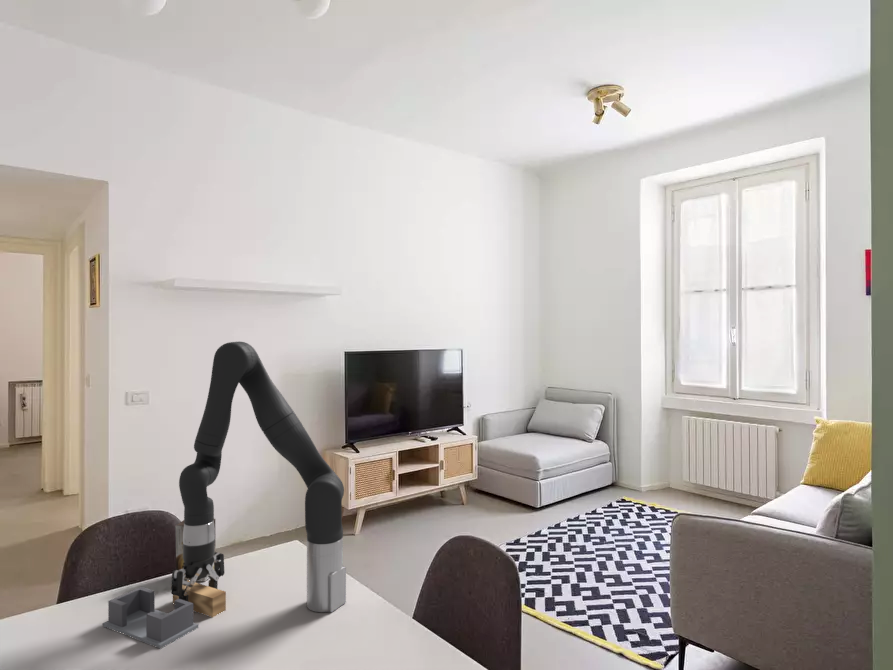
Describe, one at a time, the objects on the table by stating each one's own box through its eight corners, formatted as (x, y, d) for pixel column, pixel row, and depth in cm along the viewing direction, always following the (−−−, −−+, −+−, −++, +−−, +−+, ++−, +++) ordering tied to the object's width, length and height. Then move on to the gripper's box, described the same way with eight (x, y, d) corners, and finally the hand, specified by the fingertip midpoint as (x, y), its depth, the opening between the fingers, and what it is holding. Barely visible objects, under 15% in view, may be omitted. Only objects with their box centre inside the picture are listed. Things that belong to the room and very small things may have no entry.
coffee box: (216, 572, 163) (216, 518, 163) (204, 582, 156) (205, 525, 156) (187, 571, 164) (187, 517, 164) (174, 580, 157) (174, 524, 157)
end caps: (198, 627, 132) (198, 602, 132) (160, 648, 123) (160, 621, 123) (142, 608, 141) (142, 584, 141) (103, 626, 133) (103, 601, 133)
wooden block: (225, 611, 140) (225, 591, 140) (212, 618, 137) (212, 598, 137) (186, 598, 147) (186, 579, 147) (172, 604, 144) (172, 585, 144)
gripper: (184, 551, 134) (184, 617, 134) (231, 532, 147) (231, 593, 147) (164, 545, 137) (164, 610, 137) (211, 528, 150) (211, 587, 150)
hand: (198, 601), depth 142 cm, fingers open, 8 cm apart
